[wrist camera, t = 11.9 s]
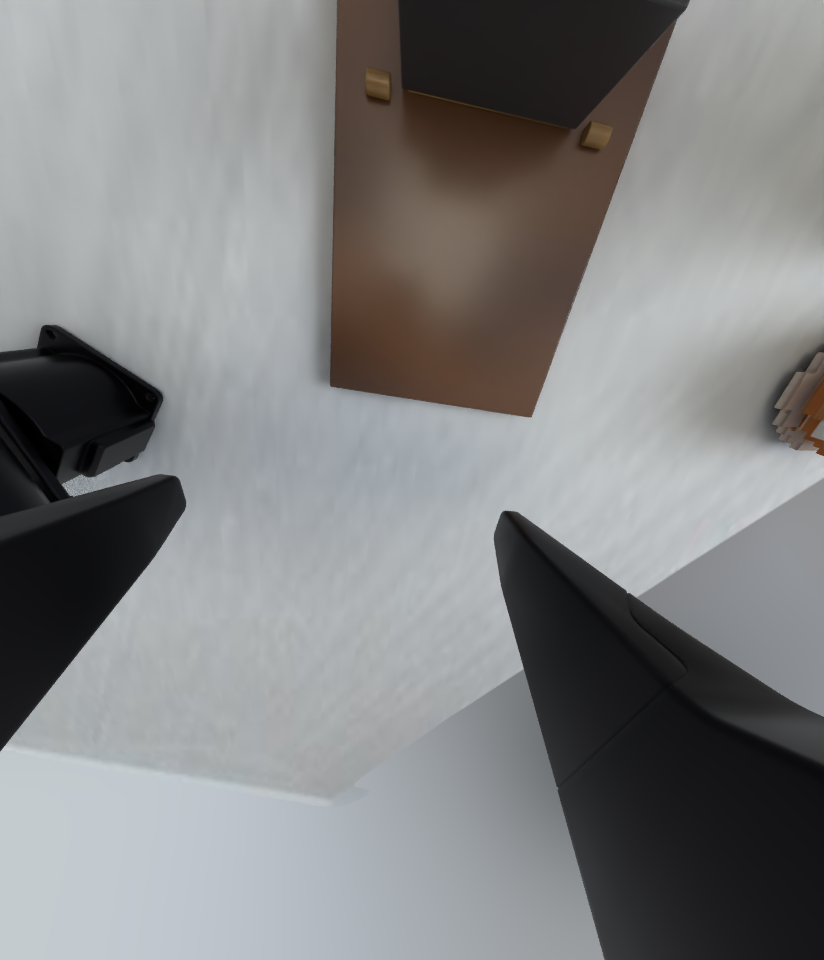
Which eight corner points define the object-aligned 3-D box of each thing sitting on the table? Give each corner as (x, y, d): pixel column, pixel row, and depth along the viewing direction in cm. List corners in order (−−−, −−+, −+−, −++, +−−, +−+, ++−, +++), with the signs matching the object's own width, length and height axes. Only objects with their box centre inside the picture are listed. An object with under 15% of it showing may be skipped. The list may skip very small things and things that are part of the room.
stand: (344, -68, 11) (334, -122, 10) (666, 20, 12) (700, -18, 11) (333, 383, 19) (327, 389, 18) (526, 413, 20) (535, 421, 19)
